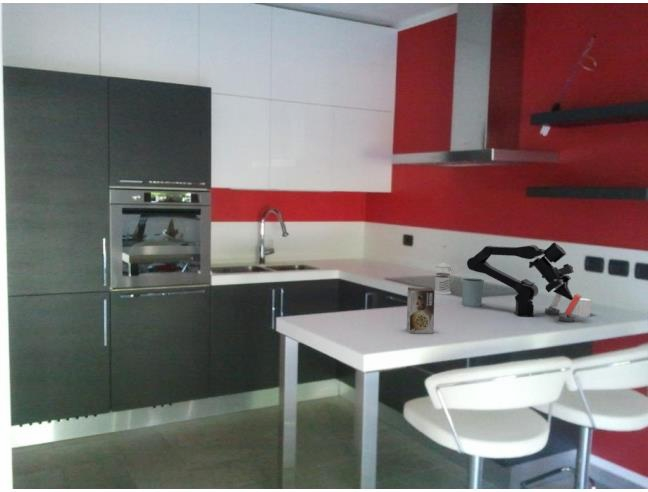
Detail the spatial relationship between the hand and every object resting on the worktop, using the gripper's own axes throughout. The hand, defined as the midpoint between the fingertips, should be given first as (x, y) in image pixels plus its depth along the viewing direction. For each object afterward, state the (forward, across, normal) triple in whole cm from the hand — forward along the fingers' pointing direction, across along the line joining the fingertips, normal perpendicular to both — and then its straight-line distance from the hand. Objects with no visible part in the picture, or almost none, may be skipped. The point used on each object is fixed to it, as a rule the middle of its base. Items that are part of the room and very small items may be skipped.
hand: (572, 299), depth 246 cm
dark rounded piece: (+5, 0, +8) cm, 9 cm away
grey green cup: (-25, +7, +39) cm, 47 cm away
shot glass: (+7, +18, +6) cm, 21 cm away
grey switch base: (-1, +11, +14) cm, 18 cm away
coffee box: (-21, -58, +35) cm, 71 cm away
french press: (-42, +32, +57) cm, 78 cm away
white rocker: (-2, +11, +13) cm, 17 cm away
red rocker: (+4, 0, +6) cm, 7 cm away
